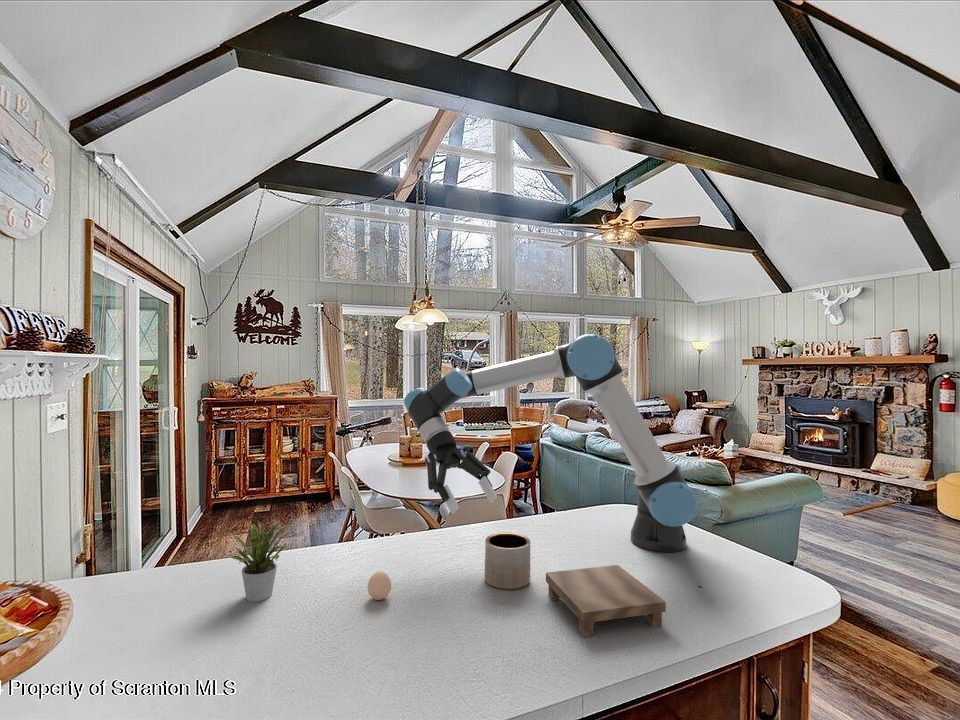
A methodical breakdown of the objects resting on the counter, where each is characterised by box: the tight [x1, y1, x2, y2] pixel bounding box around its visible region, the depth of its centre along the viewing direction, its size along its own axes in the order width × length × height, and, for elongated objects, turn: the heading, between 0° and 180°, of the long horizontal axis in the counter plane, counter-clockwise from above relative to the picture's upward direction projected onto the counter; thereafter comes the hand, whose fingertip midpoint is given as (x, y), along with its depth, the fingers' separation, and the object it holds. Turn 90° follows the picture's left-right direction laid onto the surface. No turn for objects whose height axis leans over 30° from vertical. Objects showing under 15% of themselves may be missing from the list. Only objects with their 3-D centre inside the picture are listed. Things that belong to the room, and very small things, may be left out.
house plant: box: [226, 519, 296, 603], centre depth 110 cm, size 14×14×16 cm
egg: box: [367, 570, 392, 601], centre depth 110 cm, size 5×5×6 cm
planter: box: [484, 532, 531, 591], centre depth 120 cm, size 11×11×10 cm
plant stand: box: [545, 564, 667, 638], centre depth 106 cm, size 18×18×5 cm
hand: (475, 505), depth 127 cm, fingers open, 13 cm apart
